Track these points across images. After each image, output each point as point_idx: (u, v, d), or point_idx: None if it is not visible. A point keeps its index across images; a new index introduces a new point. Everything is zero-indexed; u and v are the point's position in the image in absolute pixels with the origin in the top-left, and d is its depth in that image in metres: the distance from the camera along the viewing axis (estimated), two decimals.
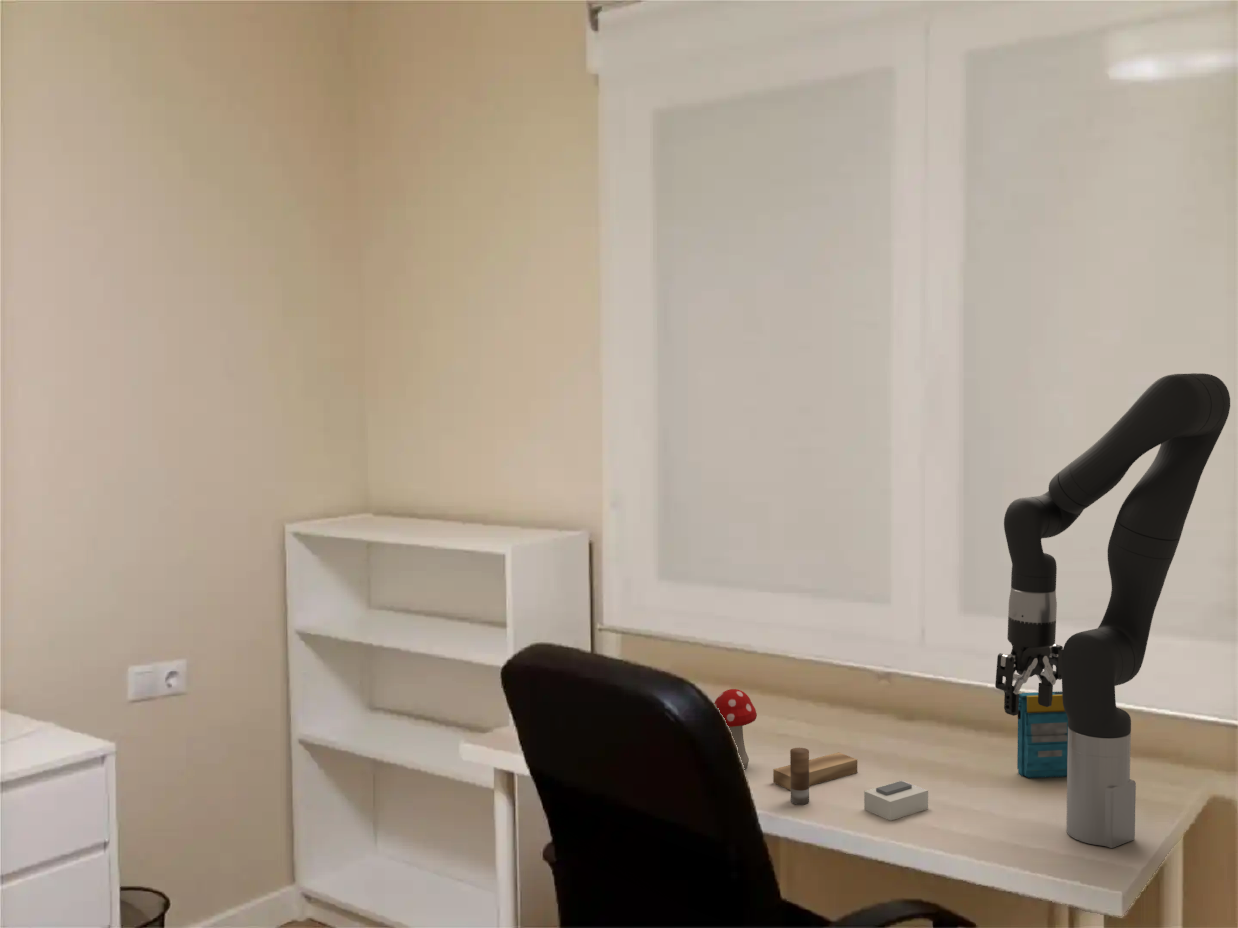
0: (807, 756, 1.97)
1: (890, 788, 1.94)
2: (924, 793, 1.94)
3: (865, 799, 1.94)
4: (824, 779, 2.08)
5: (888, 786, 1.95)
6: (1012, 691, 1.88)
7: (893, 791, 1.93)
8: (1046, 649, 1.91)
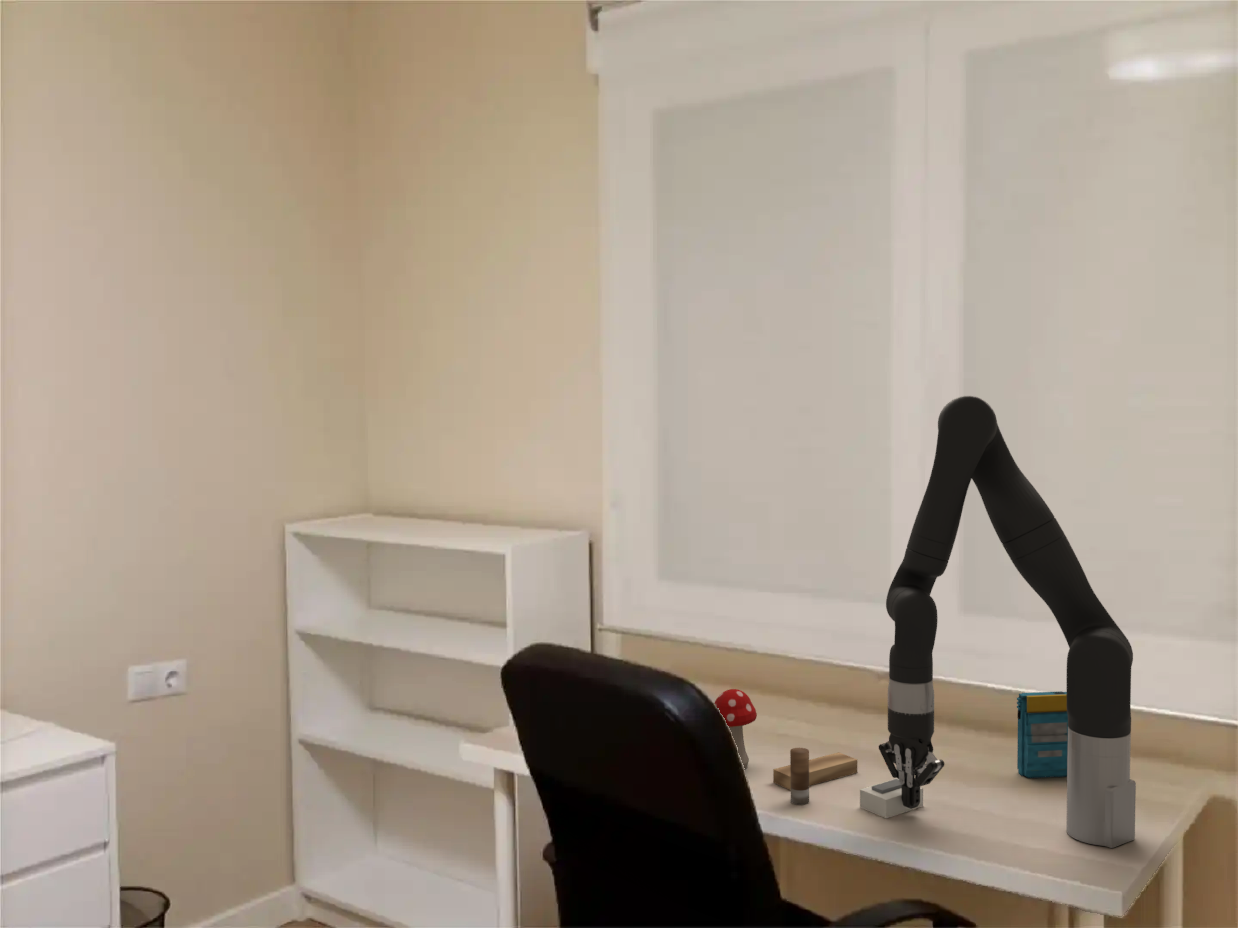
0: (807, 756, 1.97)
1: (885, 786, 1.95)
2: None
3: (861, 797, 1.95)
4: (824, 779, 2.08)
5: (883, 784, 1.96)
6: None
7: (889, 789, 1.94)
8: None
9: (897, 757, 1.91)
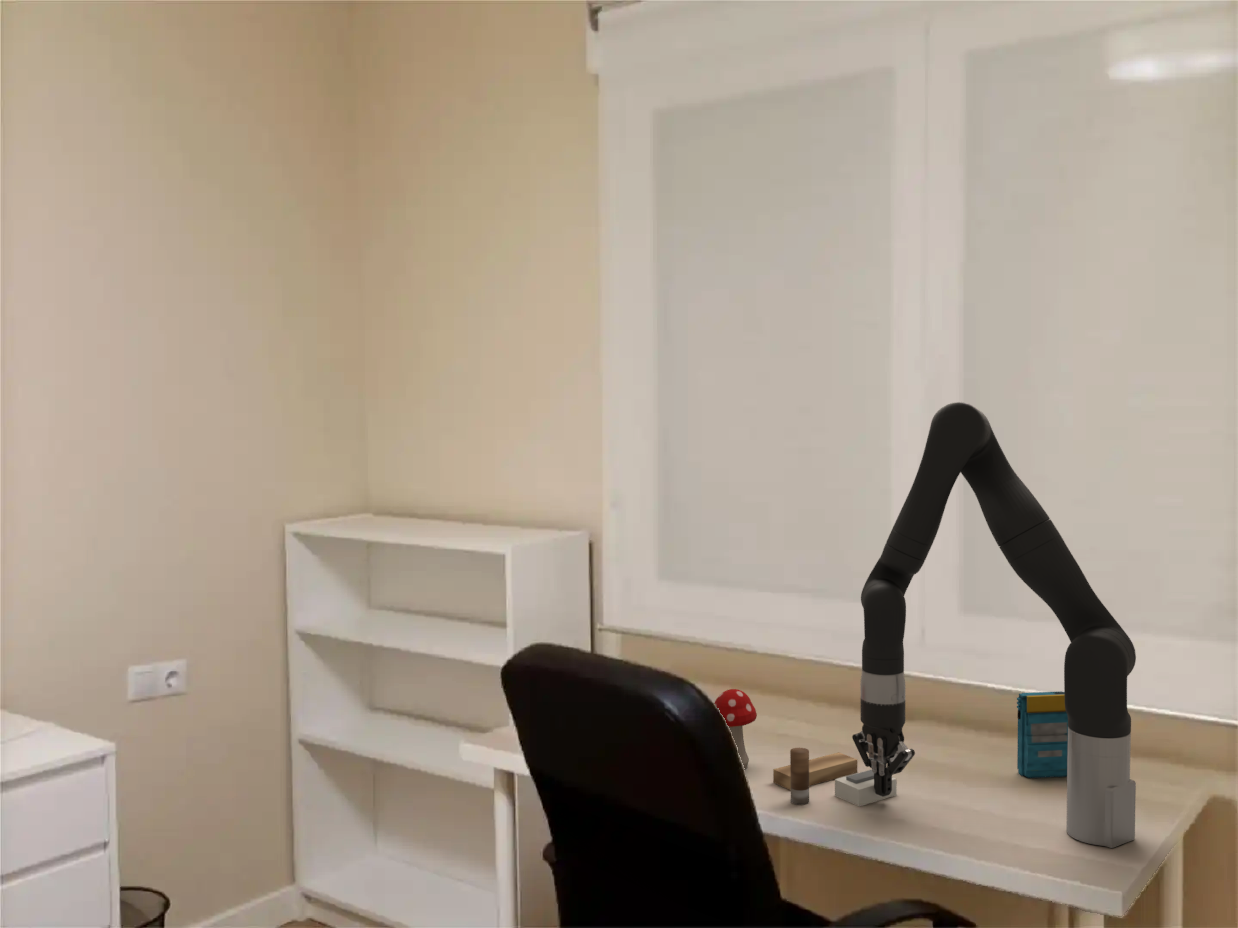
0: (807, 756, 1.97)
1: (860, 776, 2.00)
2: (892, 781, 2.00)
3: (835, 787, 2.00)
4: (824, 779, 2.08)
5: (858, 774, 2.01)
6: None
7: (862, 779, 1.99)
8: None
9: (870, 746, 1.96)
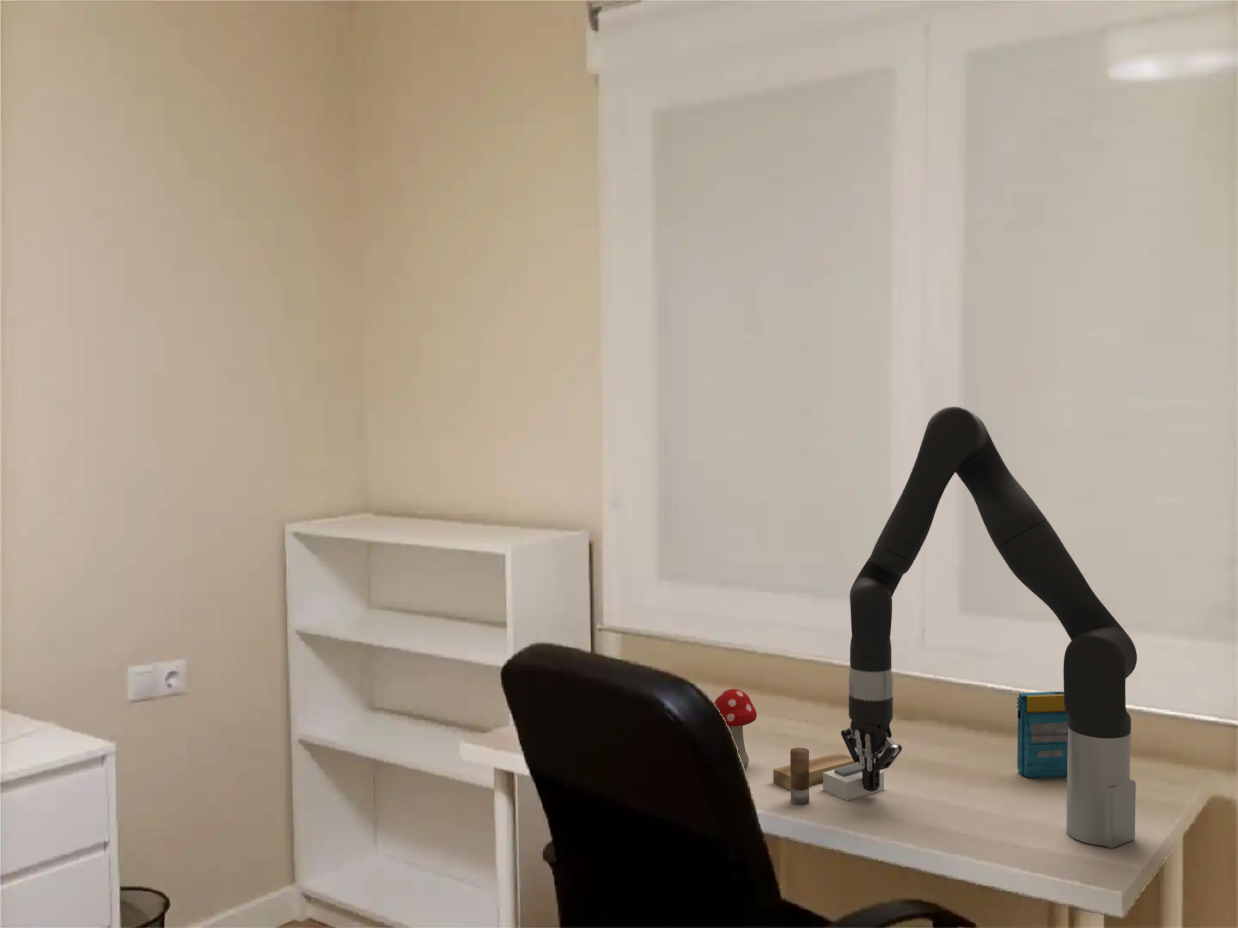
0: (807, 756, 1.97)
1: (847, 770, 2.03)
2: (880, 774, 2.03)
3: (824, 780, 2.03)
4: None
5: (846, 768, 2.04)
6: None
7: (850, 772, 2.02)
8: None
9: (858, 742, 1.99)
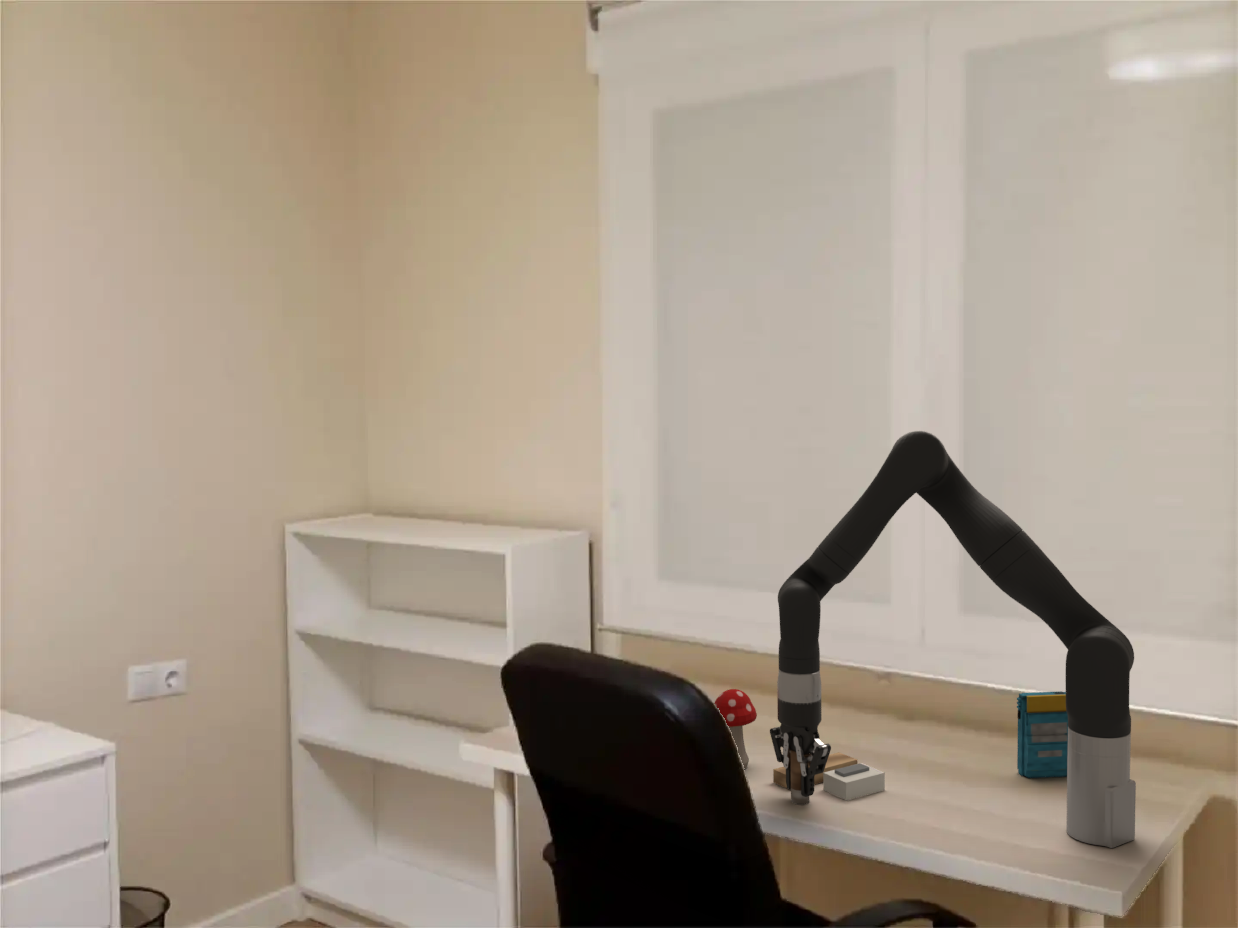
0: None
1: (848, 770, 2.03)
2: (880, 775, 2.02)
3: (824, 780, 2.03)
4: None
5: (846, 768, 2.04)
6: None
7: (850, 773, 2.02)
8: None
9: (785, 744, 1.98)
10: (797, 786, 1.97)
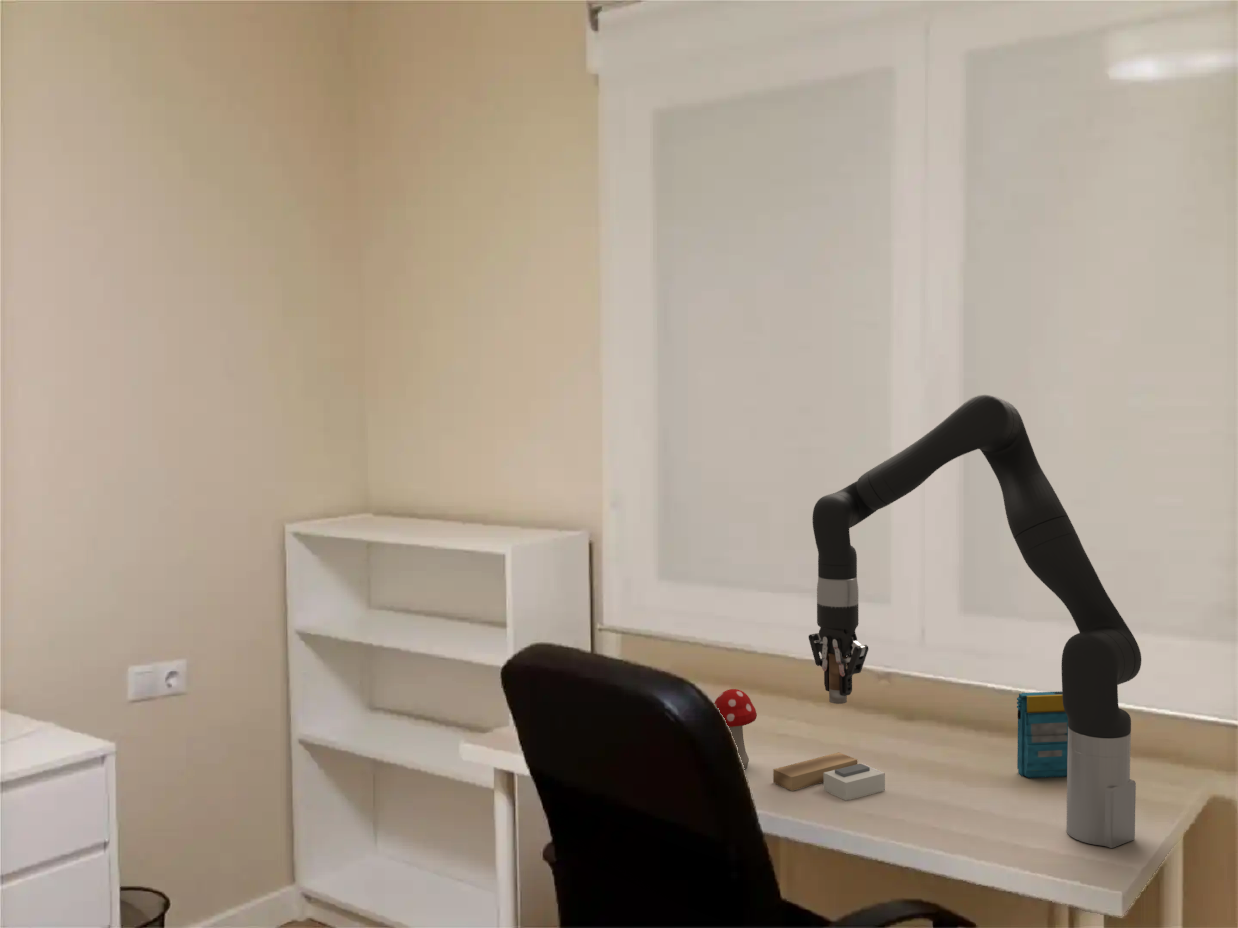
0: None
1: (848, 770, 2.03)
2: (881, 775, 2.02)
3: (824, 780, 2.03)
4: None
5: (846, 768, 2.04)
6: None
7: (850, 773, 2.02)
8: None
9: (824, 647, 2.11)
10: (835, 686, 2.10)
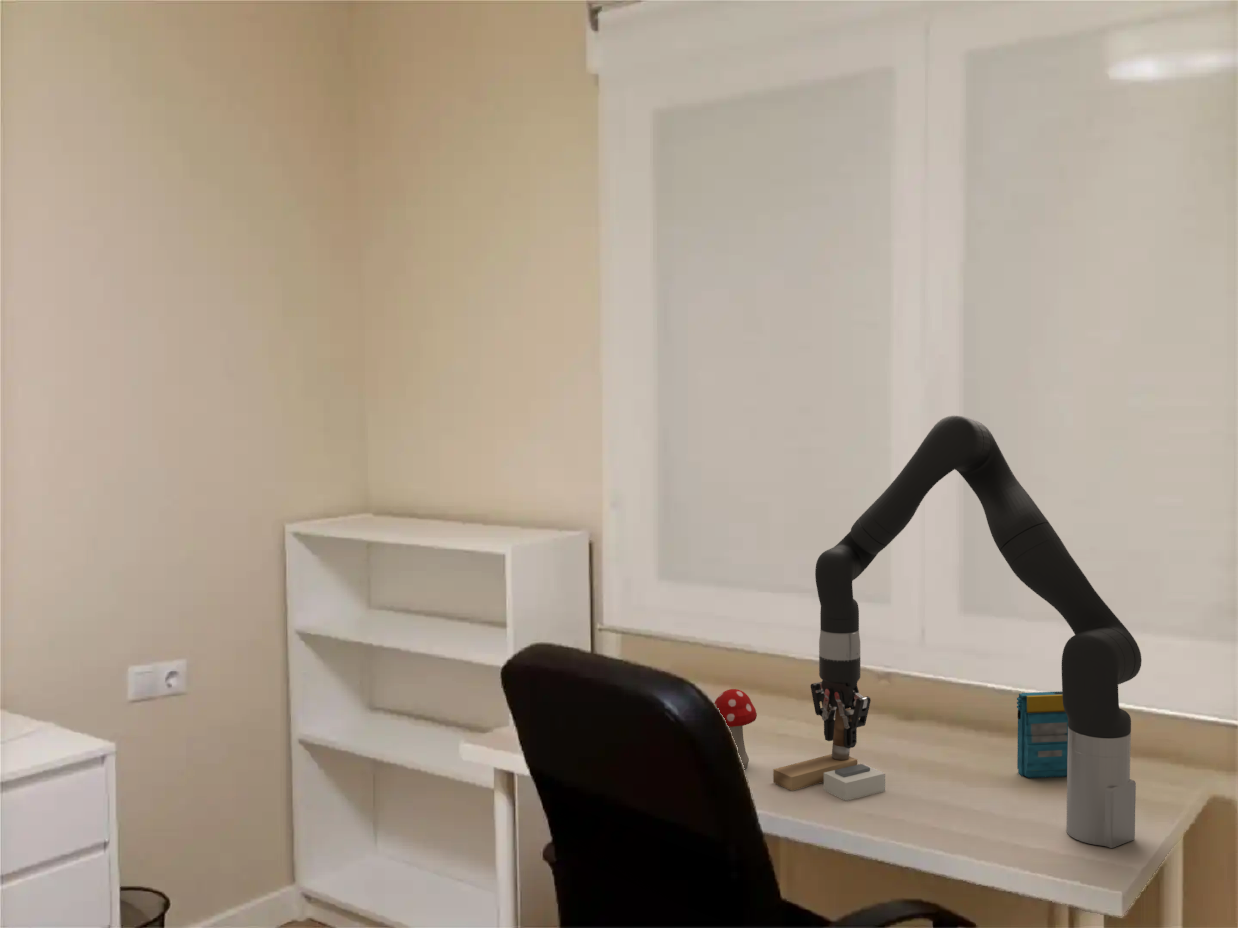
0: None
1: (848, 770, 2.02)
2: (881, 776, 2.02)
3: (824, 780, 2.03)
4: None
5: (847, 768, 2.03)
6: None
7: (851, 773, 2.02)
8: None
9: (826, 698, 2.13)
10: (839, 742, 2.11)
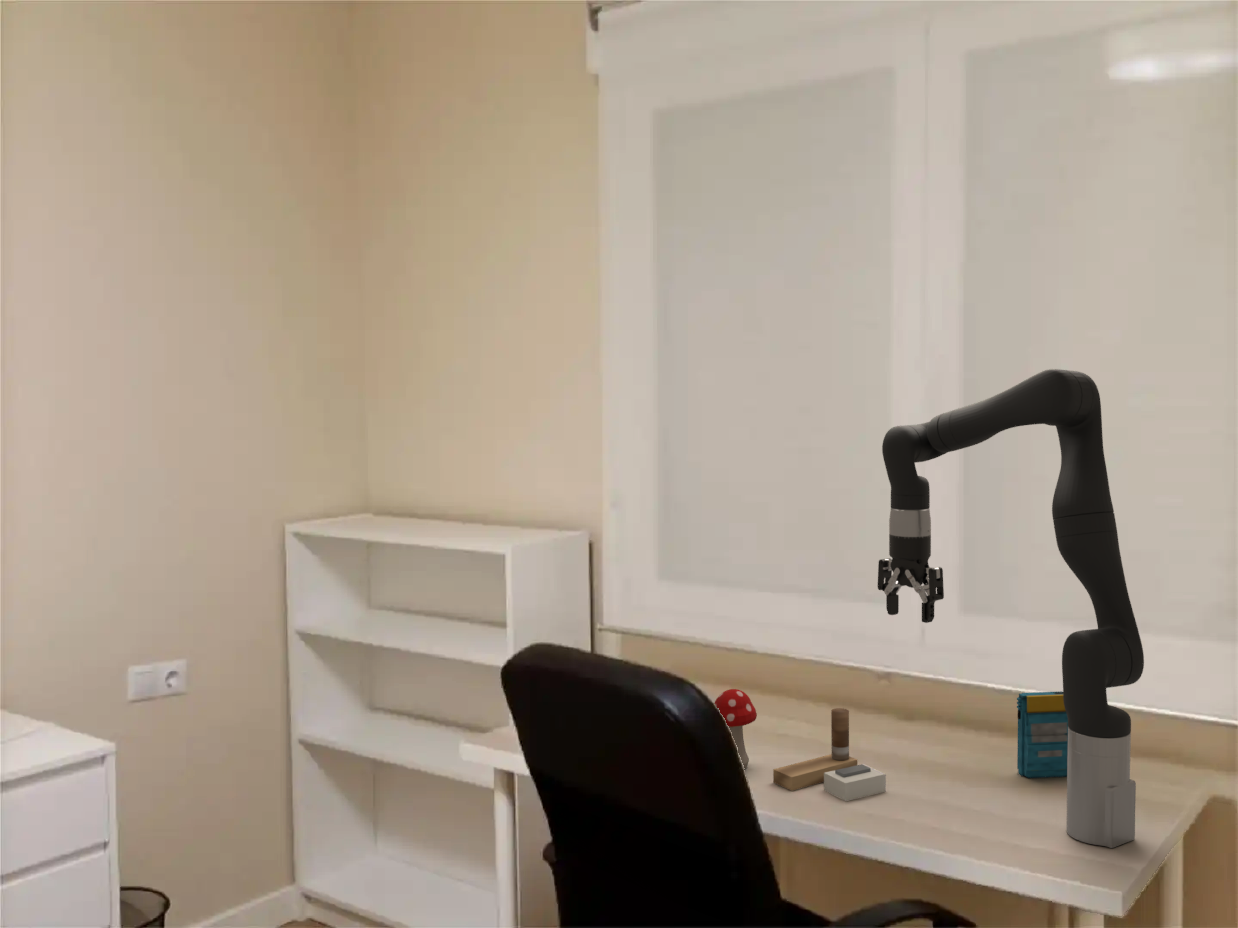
0: (847, 715, 2.11)
1: (848, 770, 2.02)
2: (881, 776, 2.02)
3: (824, 780, 2.03)
4: None
5: (847, 769, 2.03)
6: None
7: (851, 773, 2.02)
8: None
9: (894, 576, 2.14)
10: (838, 743, 2.11)
